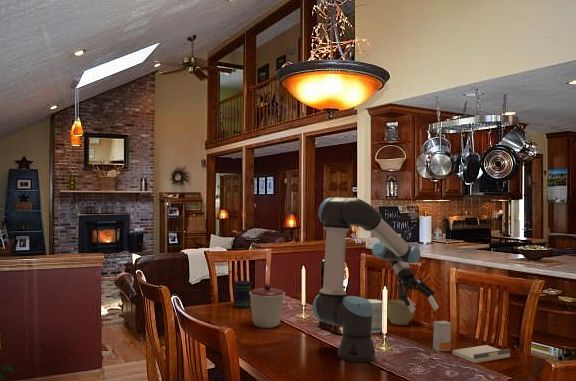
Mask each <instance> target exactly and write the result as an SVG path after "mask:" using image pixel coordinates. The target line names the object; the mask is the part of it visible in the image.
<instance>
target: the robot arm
mask: <svg viewBox="0 0 576 381" xmlns="http://www.w3.org/2000/svg"><path fill="white" fill-rule="evenodd" d="M317 215H318V219H319V220H320V223H323V224H322V225H323V226H322V228H323V229H324V231H325V232H326V233H325V234H326V236H325V249H324V250H325V252H324V267H323V268H324V269H323V283H322V288H321V289H320V290H319V291H318V294H317V295H316V296H315V298H314V300H313V302H312V311H313V315H314V317H315V318H316V319H317V320H318V321H319V322H323V323H325V324H330V325H333V326H337V327H339V328H342V337H341V339H340V343H339V347H338V350H337V357H338V358H339V359H341V360H343V361H345V362H351V363H370V362H372V361H375V360H376V350H375V347H374V346H375V345H374V343H373V339H372V333H371V330H372V305H371V303H370V301H368V300H369V299H367V298H364V297H361V296H356V295H355V296H354V295H347V292H346V290H345V289H344V282H345V280H344V279H345V264H346V263H345V262H346V244H347V243H346V242H347V233H348V232H349V231H350V230H351V226H357V227H360V228H362V229H363V230H364V231H365V232H370V233H371V234H372V235H373V236H374V237H376V239H378V241H377V242H375V243H374V244H373V246H372V248H371V251H372V252H371V253H372V254H373V256H374V257H376V258H377V259H380V260H383V261H386V262H388V263H389V264H390V266H391V267H392V269H393V272H394V273H395V275H396V277H397V278H398V280H397V282H396V286H397V298H398V299H397V300H401V301H404V302H405V304H406V306H408V308H409V310H410V312H411V313H413V312H414V311H416V307H415V308H414V306H413V304H412V302H413V301H411V299H410V297H409V296H408V294H409V290H416V291H418V292H420V293H421V294H423V295H424V296H426V297H427V300H428V302H429V304H430V306H431V307H432V308H433V311H434V312H435V311H437V310H438V309H439V305H438V303H437V302H436V299H435V297H434V295H436V292H435V291H434V290H433V289H432V288H431V287H430V286H429V285H427V284H426V283H425V282H424V281H423V279H422V278H421V277H420V278H418V279H416V278H415V272H413V270H412V269H411V266H410V264H416V263H418V262H419V261H420V259H421V251H420V247H418V246H413V245H410V244H409V243H408V242H406V240H404V239H403V237H402V236H400V235H399V234H398V233H397V232H396V231H395V230H394V229H393V228H392V227H391V226H390V225H389V224H388V223H387V222H386V221H385V220H384V219H383V218H382V217H383V216H382V214H381V213H380V212H379V211H378V210H377V209H376V208H375V207H374V206H372V205H371V204H370V203H368V202H366V201H364V200H363V199H361V198H357V197H337V196H336V197H328V198H326V199H324V200H323V201H322V202H321V203H320V205H319V207H318V214H317ZM403 287H404V288H403ZM414 313H415V312H414Z"/></svg>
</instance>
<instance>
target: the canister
mask: <svg viewBox="0 0 576 381" xmlns="http://www.w3.org/2000/svg"><path fill="white" fill-rule="evenodd" d="M249 294H250V295H251V297H250V298H251V305H250V306H251V308H250V309H251V316H252V322H253V324H254V325H255V326H256V327H258V328H261V329H263V328H264V329H272V328H276V327H277V326H279V325H280V323H281V318H282V311H283V306H284V297H285V294H286V292H285V291H283V290H282V289H280V288H276V287H272V284H270V283H267V282H266V283H264V284H263V287H257V288H254V289H251V291H250V292H249Z"/></svg>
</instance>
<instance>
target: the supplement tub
mask: <svg viewBox="0 0 576 381" xmlns="http://www.w3.org/2000/svg"><path fill="white" fill-rule="evenodd" d="M367 300H368V301H370V303H371V305H372V330H371V334H380V332H381V331H382V301H383V300H381V299H380V300H379V299H367ZM382 332H383V331H382ZM382 332H381V333H382Z"/></svg>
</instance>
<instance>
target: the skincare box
mask: <svg viewBox="0 0 576 381" xmlns="http://www.w3.org/2000/svg"><path fill="white" fill-rule="evenodd" d="M451 329H452V322H450V321H447V320H436V321H433V335H432V336H433V337H432V338H433V340H432V341H433V342H432V348H433V350H435V351H437V352H449V351H451V338H452V337H451V333H452V330H451Z"/></svg>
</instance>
